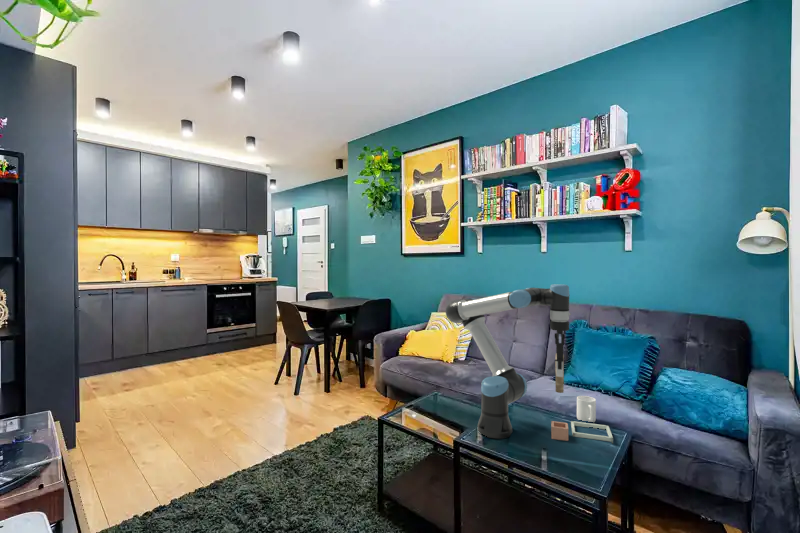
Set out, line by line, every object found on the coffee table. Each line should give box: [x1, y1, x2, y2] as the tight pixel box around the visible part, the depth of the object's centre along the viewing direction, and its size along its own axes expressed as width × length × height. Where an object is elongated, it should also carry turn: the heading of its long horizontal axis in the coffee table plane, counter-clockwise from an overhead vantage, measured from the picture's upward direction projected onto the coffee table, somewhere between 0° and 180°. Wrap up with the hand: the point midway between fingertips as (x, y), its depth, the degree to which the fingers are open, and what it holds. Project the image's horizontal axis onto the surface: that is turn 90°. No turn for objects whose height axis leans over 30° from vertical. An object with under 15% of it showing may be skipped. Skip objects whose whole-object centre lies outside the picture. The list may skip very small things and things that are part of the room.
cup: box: [576, 395, 597, 423], centre depth 189 cm, size 8×12×10 cm
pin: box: [555, 353, 565, 394], centre depth 170 cm, size 3×3×16 cm
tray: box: [570, 420, 614, 445], centre depth 174 cm, size 15×13×2 cm
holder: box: [550, 420, 569, 442], centre depth 170 cm, size 7×7×6 cm
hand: (559, 375), depth 170 cm, fingers closed on pin, 3 cm apart
